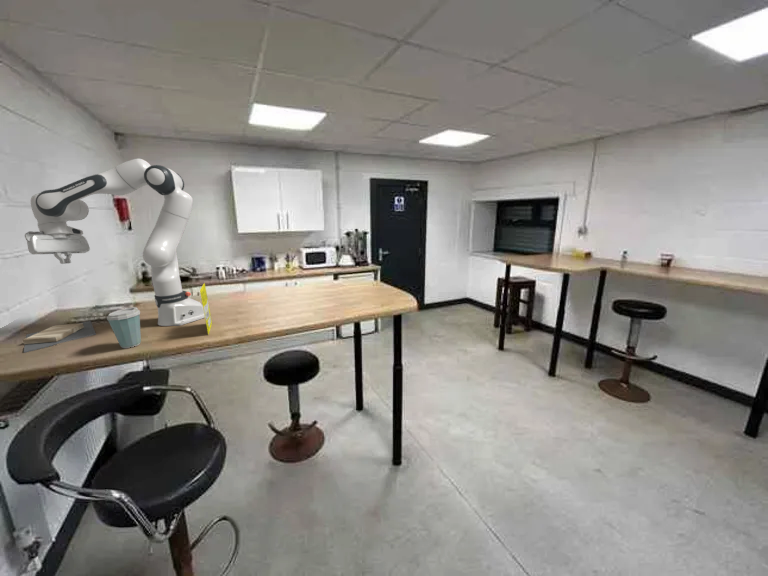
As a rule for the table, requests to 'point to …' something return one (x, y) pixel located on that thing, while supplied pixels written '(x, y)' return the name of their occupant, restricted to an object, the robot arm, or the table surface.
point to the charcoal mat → (81, 333)
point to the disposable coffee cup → (126, 326)
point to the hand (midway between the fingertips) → (66, 263)
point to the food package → (206, 307)
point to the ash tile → (53, 334)
